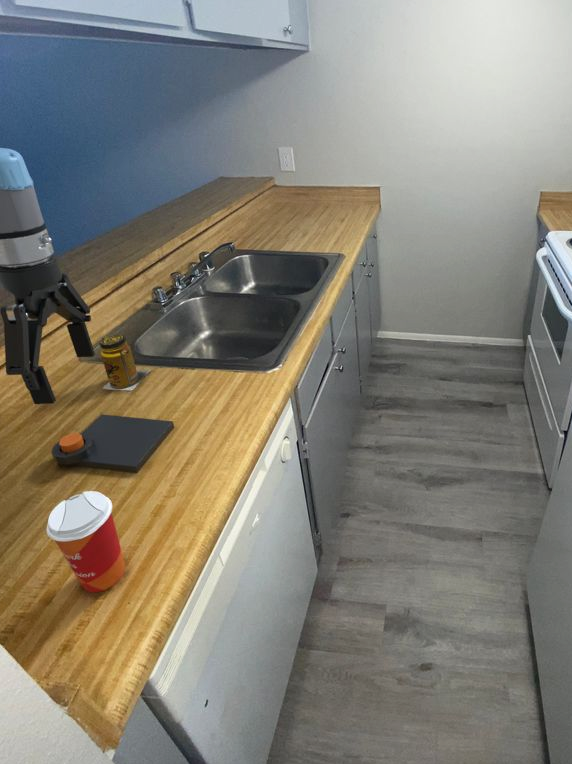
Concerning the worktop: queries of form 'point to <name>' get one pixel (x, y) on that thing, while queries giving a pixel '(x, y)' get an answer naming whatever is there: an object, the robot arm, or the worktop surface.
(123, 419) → the scale
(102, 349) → the condiment
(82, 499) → the paper cup
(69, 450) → the tare button
